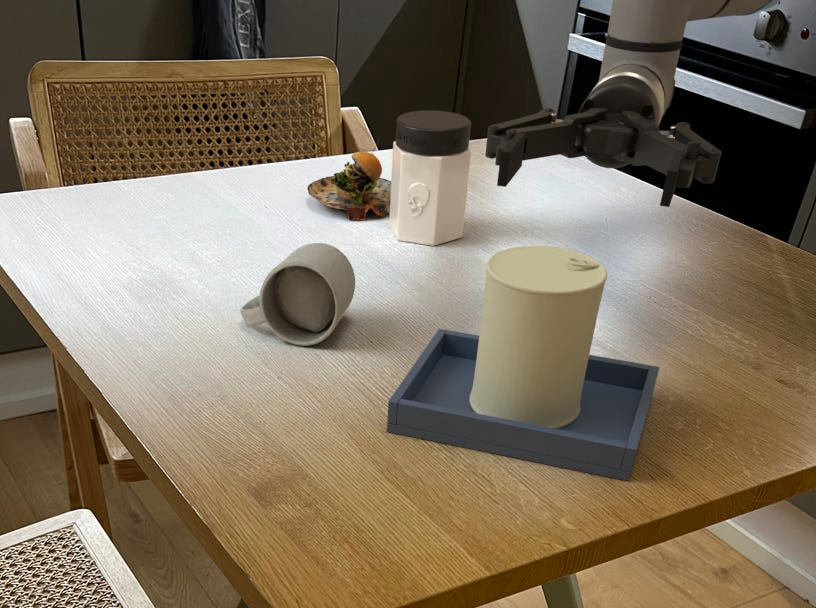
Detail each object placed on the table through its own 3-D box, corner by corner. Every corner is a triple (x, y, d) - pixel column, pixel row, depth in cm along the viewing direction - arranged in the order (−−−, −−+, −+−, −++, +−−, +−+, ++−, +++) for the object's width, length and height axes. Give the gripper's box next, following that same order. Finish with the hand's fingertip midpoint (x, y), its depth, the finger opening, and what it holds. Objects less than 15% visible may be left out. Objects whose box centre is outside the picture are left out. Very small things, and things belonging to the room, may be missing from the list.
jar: (377, 238, 111) (382, 124, 103) (399, 216, 117) (406, 106, 109) (452, 250, 109) (463, 134, 101) (471, 226, 115) (483, 115, 107)
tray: (652, 396, 84) (659, 366, 82) (628, 481, 74) (636, 449, 72) (436, 357, 89) (438, 328, 87) (386, 431, 79) (388, 400, 77)
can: (597, 426, 79) (630, 280, 71) (490, 437, 77) (511, 289, 69) (555, 374, 85) (580, 235, 77) (455, 383, 84) (470, 242, 76)
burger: (318, 185, 125) (318, 121, 120) (408, 193, 124) (412, 129, 119) (296, 216, 117) (296, 149, 112) (393, 224, 115) (397, 157, 110)
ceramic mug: (358, 315, 95) (359, 236, 90) (338, 351, 90) (338, 268, 84) (256, 305, 97) (251, 226, 92) (230, 339, 91) (223, 257, 86)
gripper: (741, 173, 94) (728, 245, 79) (491, 145, 100) (434, 207, 85) (765, 86, 89) (755, 146, 74) (500, 62, 95) (442, 113, 80)
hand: (583, 179), depth 80 cm, fingers open, 13 cm apart
